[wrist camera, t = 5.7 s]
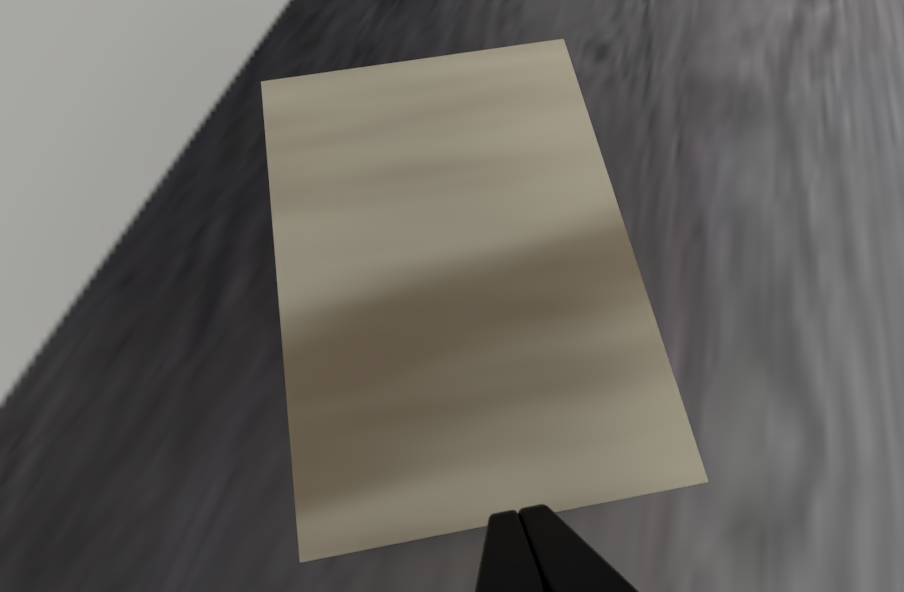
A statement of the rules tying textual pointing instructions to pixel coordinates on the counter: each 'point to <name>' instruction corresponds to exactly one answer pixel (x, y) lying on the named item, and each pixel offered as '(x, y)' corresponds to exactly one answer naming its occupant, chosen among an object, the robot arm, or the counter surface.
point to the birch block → (459, 302)
